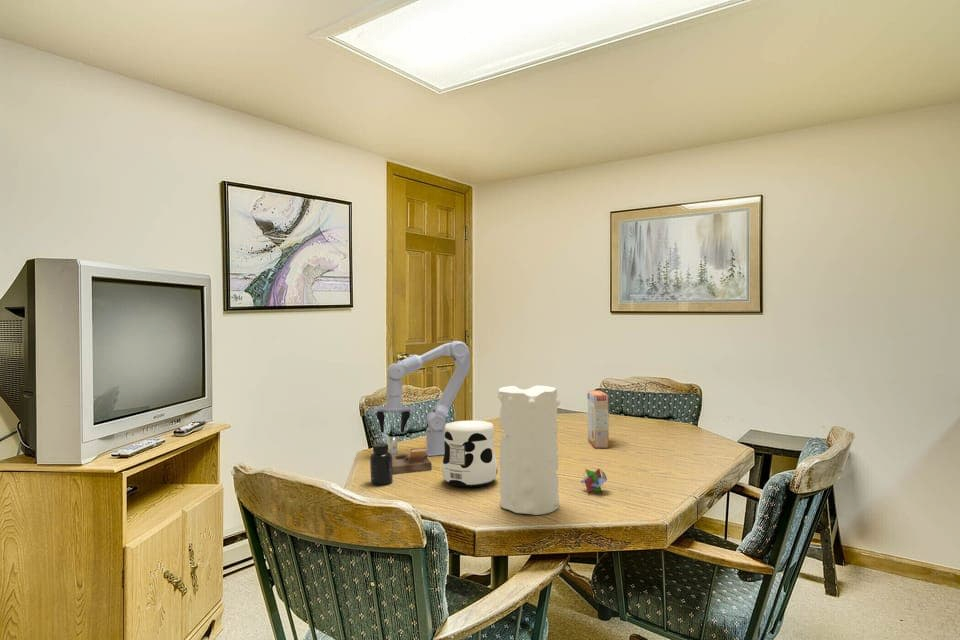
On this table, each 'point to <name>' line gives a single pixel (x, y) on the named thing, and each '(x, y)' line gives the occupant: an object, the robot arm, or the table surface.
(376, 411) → the robot arm
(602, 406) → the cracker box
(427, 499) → the table surface
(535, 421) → the vase
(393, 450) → the steel pin
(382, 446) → the supplement bottle
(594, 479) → the geometric puzzle
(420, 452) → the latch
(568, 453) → the table surface
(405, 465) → the brown board with hole
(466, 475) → the milk container
